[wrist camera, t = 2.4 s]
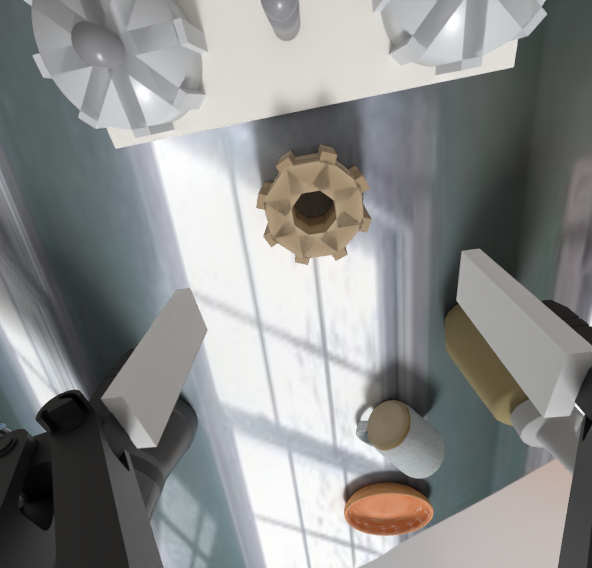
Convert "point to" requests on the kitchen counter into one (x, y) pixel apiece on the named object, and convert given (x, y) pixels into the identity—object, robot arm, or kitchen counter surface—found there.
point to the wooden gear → (322, 229)
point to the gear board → (259, 55)
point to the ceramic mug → (403, 438)
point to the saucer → (388, 509)
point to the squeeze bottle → (508, 391)
